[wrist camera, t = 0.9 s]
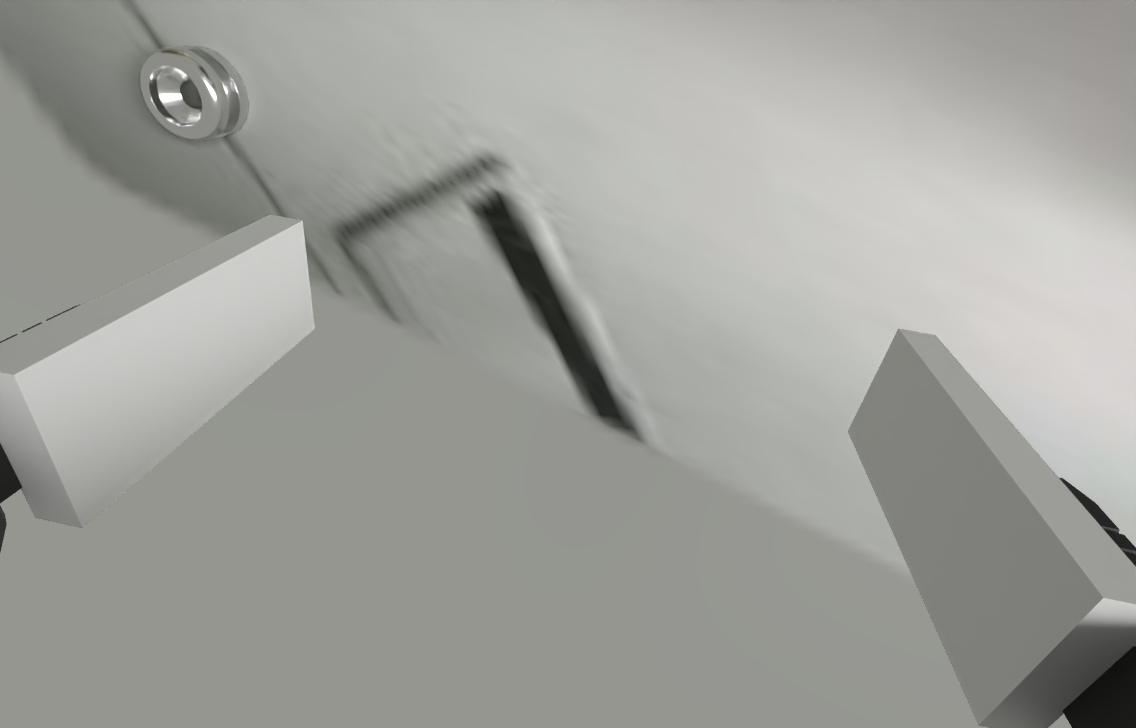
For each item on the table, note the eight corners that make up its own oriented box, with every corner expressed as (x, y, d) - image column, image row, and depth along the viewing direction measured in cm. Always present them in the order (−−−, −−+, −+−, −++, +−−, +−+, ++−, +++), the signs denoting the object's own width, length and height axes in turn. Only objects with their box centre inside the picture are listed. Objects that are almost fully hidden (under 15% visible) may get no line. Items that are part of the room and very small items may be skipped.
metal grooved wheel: (156, 56, 35) (197, 142, 37) (115, 58, 32) (163, 150, 34) (225, 37, 34) (263, 127, 36) (189, 37, 31) (232, 134, 33)
